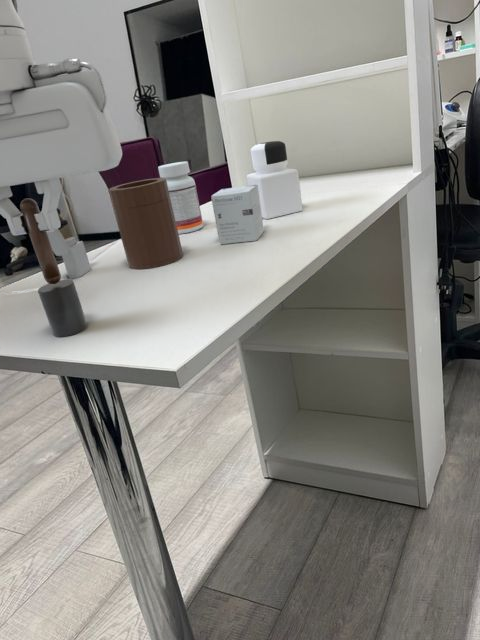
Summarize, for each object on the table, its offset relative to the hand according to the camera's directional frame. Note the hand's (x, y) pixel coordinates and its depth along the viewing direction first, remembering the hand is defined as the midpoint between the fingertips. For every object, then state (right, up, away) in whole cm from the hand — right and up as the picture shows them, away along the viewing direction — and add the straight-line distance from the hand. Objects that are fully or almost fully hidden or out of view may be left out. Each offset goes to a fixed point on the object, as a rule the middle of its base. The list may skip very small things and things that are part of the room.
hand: (37, 231), depth 53 cm
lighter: (-5, -1, +25) cm, 26 cm away
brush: (+2, -9, +4) cm, 11 cm away
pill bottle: (+9, +10, +43) cm, 45 cm away
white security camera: (+25, +13, +44) cm, 52 cm away
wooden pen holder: (+6, +2, +26) cm, 27 cm away
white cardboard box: (+19, +6, +31) cm, 37 cm away
